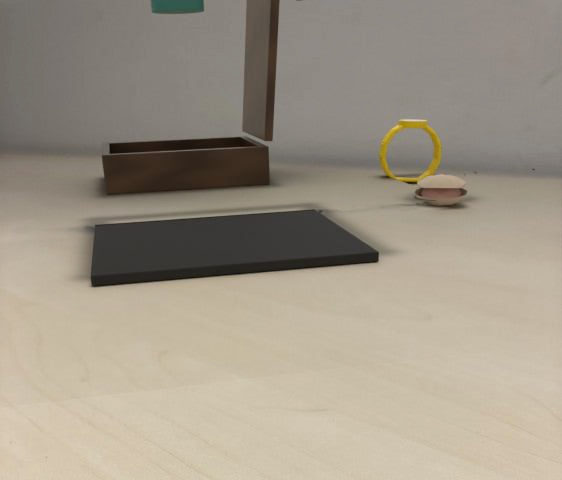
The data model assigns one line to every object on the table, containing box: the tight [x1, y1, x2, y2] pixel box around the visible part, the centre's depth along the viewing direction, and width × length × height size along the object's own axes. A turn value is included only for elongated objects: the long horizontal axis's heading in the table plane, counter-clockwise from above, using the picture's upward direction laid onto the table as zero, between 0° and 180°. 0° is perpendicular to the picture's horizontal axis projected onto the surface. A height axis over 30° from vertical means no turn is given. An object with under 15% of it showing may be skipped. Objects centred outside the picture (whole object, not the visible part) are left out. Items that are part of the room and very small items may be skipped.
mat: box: [90, 208, 380, 287], centre depth 49 cm, size 17×17×1 cm
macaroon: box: [414, 173, 469, 207], centre depth 59 cm, size 4×5×2 cm
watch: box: [378, 118, 442, 183], centre depth 70 cm, size 6×3×6 cm, turn 97°
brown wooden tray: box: [101, 135, 271, 196], centre depth 71 cm, size 15×12×4 cm
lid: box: [241, 0, 303, 142], centre depth 69 cm, size 16×12×6 cm
